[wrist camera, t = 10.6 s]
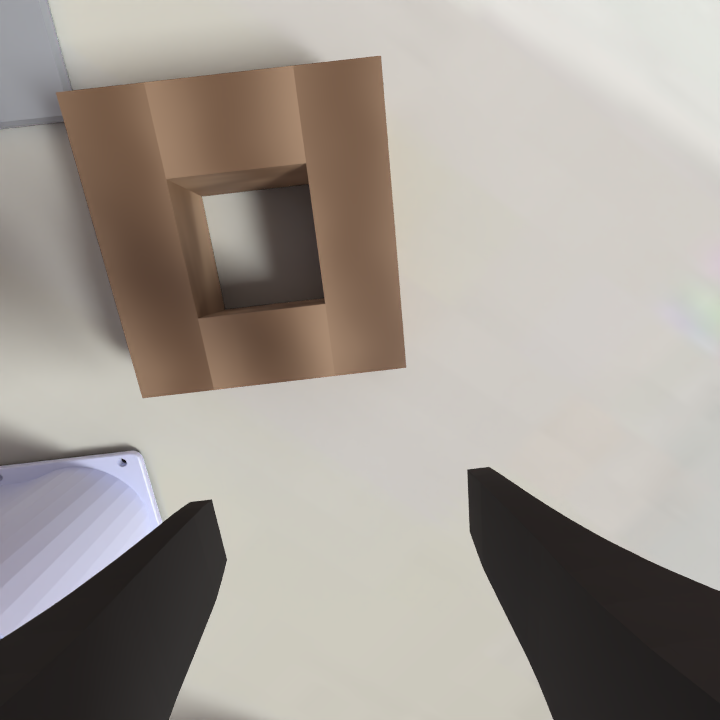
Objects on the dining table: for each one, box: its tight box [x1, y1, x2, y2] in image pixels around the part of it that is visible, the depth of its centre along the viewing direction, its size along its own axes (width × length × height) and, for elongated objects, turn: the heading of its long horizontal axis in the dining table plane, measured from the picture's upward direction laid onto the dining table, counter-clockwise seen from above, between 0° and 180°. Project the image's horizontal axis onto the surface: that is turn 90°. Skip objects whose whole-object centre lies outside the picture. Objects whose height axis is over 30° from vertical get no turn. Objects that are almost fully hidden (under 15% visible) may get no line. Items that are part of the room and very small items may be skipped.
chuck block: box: [56, 56, 406, 398], centre depth 16 cm, size 12×12×4 cm
